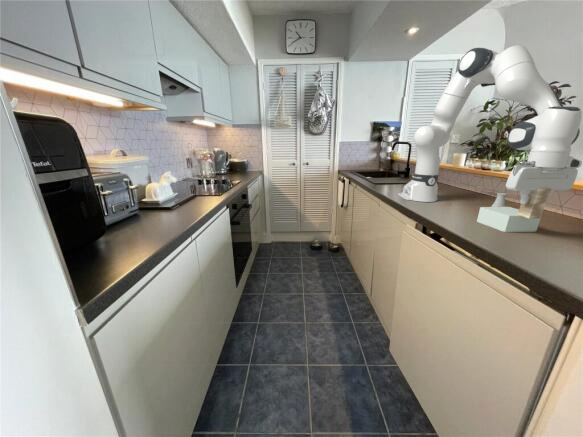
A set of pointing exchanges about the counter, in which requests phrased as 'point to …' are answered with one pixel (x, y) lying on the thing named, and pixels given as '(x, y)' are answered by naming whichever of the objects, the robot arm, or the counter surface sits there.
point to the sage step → (506, 219)
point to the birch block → (535, 204)
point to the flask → (499, 200)
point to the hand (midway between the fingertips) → (532, 203)
